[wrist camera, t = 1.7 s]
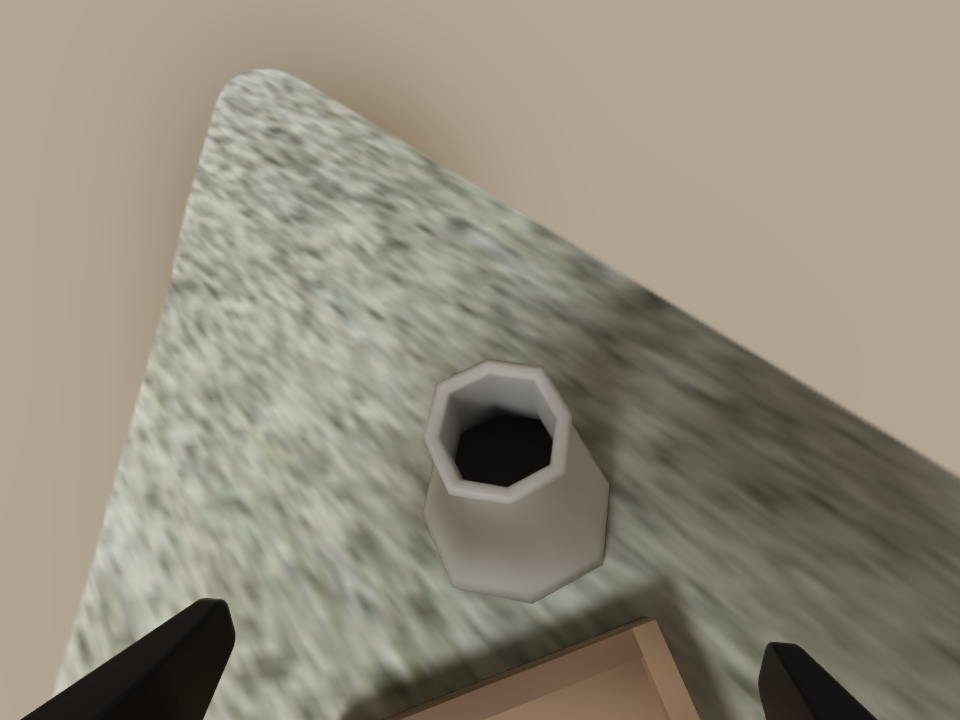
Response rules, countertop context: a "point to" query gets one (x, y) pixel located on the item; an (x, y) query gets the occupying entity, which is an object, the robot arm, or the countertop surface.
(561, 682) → the walnut tray
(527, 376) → the flask
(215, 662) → the robot arm
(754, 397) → the countertop surface
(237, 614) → the countertop surface
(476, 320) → the countertop surface
